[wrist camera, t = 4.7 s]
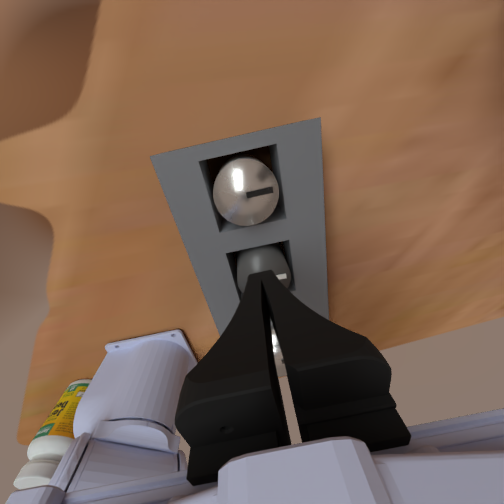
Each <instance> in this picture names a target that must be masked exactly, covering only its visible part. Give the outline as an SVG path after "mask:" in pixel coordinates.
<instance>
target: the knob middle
mask: <svg viewBox="0 0 504 504" xmlns="http://www.w3.org/2000/svg"><path fill="white" fill-rule="evenodd" d="M267 270H272V271H273V272H274V273H275V275H276V276H277V278H278V279H279V280H280V281H281V283H282V284H283V285H284V286H285V287H286V288H288V286H289V284H290V281H291V273H290V270H289V267H288V265H287V262H286V260H285V257H284V255H283V253H282V250H281V248H280V245H279V243H278V242H276V243H272V244H267V245H262V246H258V247H253V248H248V249H243V250H239V251H237V283H238V287H239V289H240V291H241V292H242V293H243V292H244V289H245V286H246V283H247V278H248V275H249V274H253V273H258V272H262V271H267Z"/></svg>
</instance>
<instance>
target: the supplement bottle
mask: <svg viewBox="0 0 504 504" xmlns="http://www.w3.org/2000/svg"><path fill="white" fill-rule="evenodd" d="M91 381H92V379H81V380H77V381H75V382H73V383H71V384H70V385H69V386H68V388H67V389H66V390H65V392H64V394H63V395H62V397H61V398H60V400H59V401H58V403H57V404H56V406H55V407H54V409H53V410H52V412H51V413H50V415H49V416H48V418H47V419H46V421H45V422H44V424H43V425H42V427H41V428H40V430H39V431H38V433H37V434H36V436H35V437H34V439H33V440H32V442H31V444H30V445H29V447H28V451H27V455H28V458H29V460H30V462H28V463H27V464H26V465H25V466H24V467H23V468H22V469H21V471H20V473H19V475H18V476H17V478H16V479H15V481H14V486H15V487H17V488H18V489H26V488H31V487H36V486H42V485H48V484H49V482H50V480H51V478H52V476H53V475H54V473H55V471H56V469H57V467H58V465H59V463H60V462H61V460H62V458H63V456H64V454H65V452H66V451H67V449H68V447H69V445H70V443H71V442H72V440H73V439H75V437H74V433H73V422H74V417H75V413H76V409H77V406H78V404H79V402H80V400H81V398H82V396H83V394H84V393H85V391H86V389H87V388H88V386H89V384H90V382H91Z"/></svg>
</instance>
